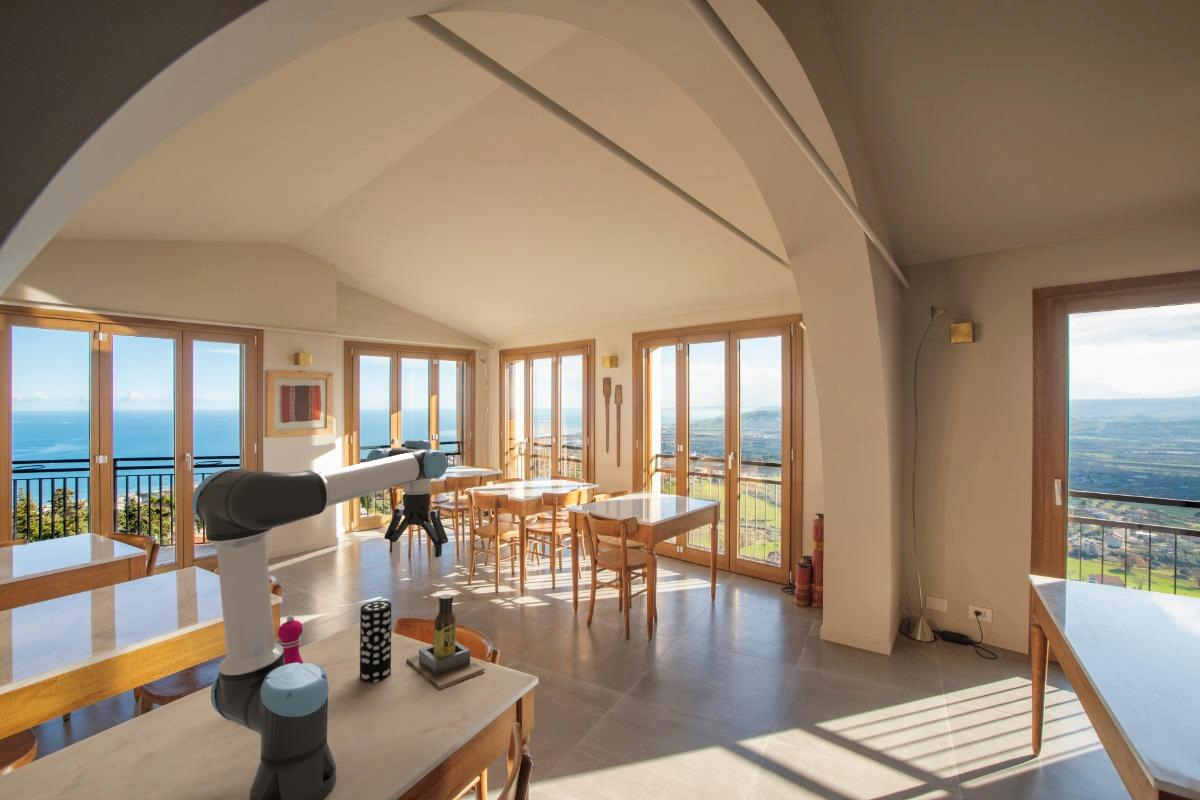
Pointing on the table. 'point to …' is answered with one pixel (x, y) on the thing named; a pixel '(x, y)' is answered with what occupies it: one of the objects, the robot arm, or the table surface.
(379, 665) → the spotted tube
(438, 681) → the caddy board
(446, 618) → the sauce bottle
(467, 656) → the bottle socket
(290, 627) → the pepper mill
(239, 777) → the table surface
